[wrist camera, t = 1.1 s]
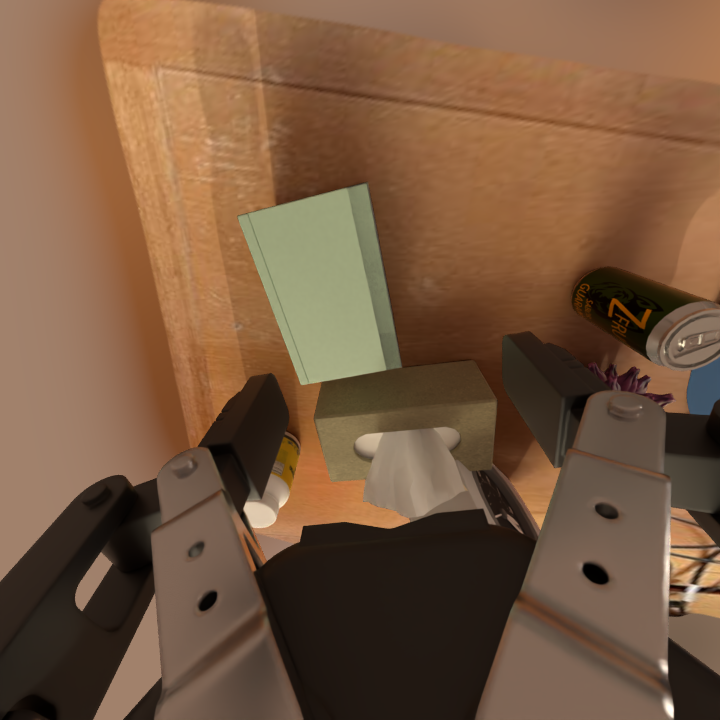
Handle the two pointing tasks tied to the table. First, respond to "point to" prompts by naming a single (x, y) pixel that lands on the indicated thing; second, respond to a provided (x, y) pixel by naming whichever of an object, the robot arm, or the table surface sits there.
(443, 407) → the tissue box
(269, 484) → the pill bottle
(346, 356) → the pale green open box
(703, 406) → the block
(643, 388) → the flower
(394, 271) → the table surface
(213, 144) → the table surface
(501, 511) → the alarm clock
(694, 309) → the beer can
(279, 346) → the table surface
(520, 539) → the robot arm
